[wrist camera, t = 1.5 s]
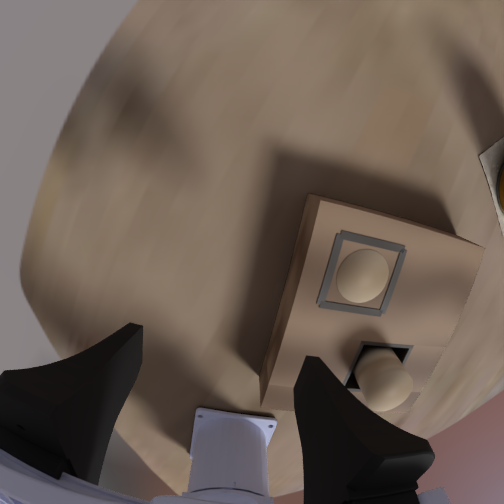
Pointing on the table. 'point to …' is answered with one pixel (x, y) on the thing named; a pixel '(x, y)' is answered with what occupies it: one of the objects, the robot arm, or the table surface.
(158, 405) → the table surface
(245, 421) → the robot arm
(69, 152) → the table surface
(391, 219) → the board
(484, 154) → the condiment
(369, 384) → the peg
